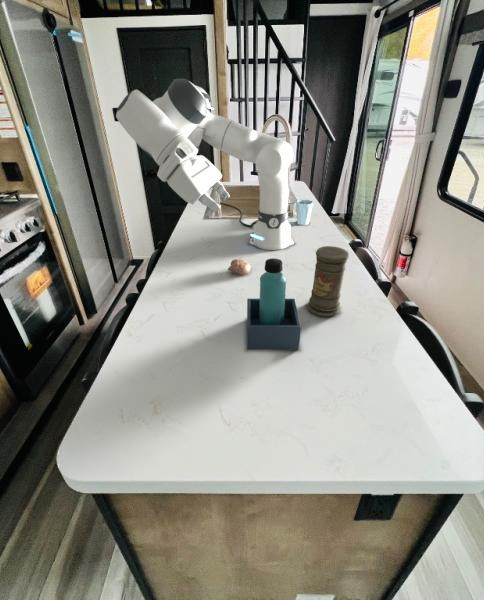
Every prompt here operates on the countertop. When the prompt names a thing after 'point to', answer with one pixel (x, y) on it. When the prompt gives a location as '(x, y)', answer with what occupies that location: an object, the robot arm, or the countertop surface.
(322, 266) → the container
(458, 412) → the countertop surface
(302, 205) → the cup
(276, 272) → the beverage bottle
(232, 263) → the beige lumpy piece
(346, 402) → the countertop surface
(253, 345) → the tote
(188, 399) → the countertop surface
